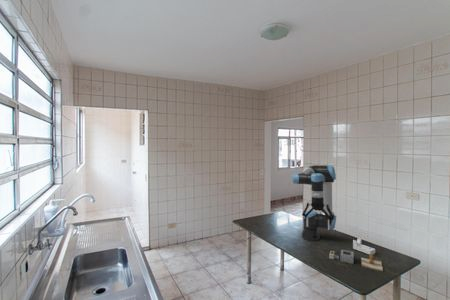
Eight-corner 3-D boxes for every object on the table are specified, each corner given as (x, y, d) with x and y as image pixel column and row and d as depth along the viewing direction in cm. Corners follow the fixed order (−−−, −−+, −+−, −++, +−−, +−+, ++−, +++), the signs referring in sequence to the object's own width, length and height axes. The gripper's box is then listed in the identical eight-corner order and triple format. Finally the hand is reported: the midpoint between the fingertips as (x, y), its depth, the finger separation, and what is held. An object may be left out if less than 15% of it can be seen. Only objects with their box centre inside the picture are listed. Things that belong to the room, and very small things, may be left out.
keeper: (361, 258, 172) (361, 249, 171) (381, 262, 166) (381, 252, 166) (361, 266, 161) (361, 256, 161) (382, 271, 155) (382, 260, 155)
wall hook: (333, 256, 176) (333, 254, 176) (338, 257, 175) (338, 255, 174) (332, 257, 174) (332, 255, 174) (338, 258, 172) (338, 256, 172)
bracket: (353, 249, 187) (353, 240, 186) (358, 247, 190) (358, 237, 190) (370, 256, 176) (370, 246, 175) (375, 253, 179) (375, 243, 179)
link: (341, 256, 176) (341, 249, 176) (353, 258, 172) (353, 251, 172) (340, 261, 169) (340, 254, 169) (353, 263, 165) (353, 256, 165)
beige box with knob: (330, 254, 179) (330, 249, 179) (334, 255, 178) (334, 250, 177) (329, 258, 174) (329, 253, 174) (333, 259, 172) (333, 254, 172)
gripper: (297, 196, 162) (297, 226, 163) (337, 199, 150) (337, 232, 151) (299, 193, 169) (300, 223, 170) (338, 197, 156) (338, 228, 157)
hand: (317, 227), depth 160 cm, fingers open, 13 cm apart
